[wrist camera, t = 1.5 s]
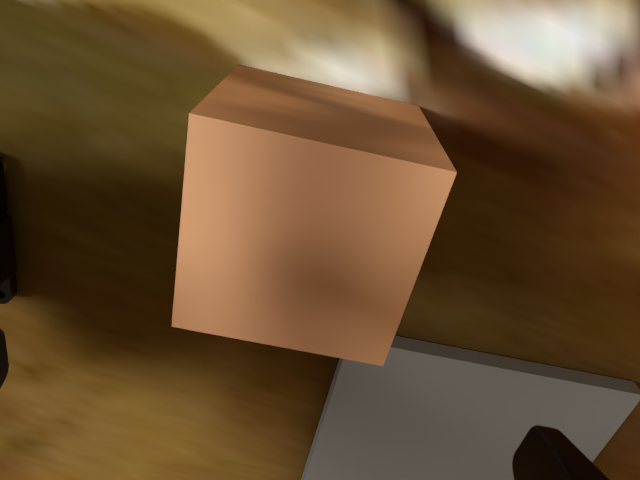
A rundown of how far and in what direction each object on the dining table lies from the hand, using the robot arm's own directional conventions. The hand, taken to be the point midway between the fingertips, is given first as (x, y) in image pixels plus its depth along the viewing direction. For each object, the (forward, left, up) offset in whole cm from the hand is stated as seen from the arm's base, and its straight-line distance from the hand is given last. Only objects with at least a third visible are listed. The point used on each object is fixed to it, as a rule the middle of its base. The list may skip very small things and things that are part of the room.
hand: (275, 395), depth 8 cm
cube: (0, 0, -10) cm, 10 cm away
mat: (+10, -13, -10) cm, 19 cm away
